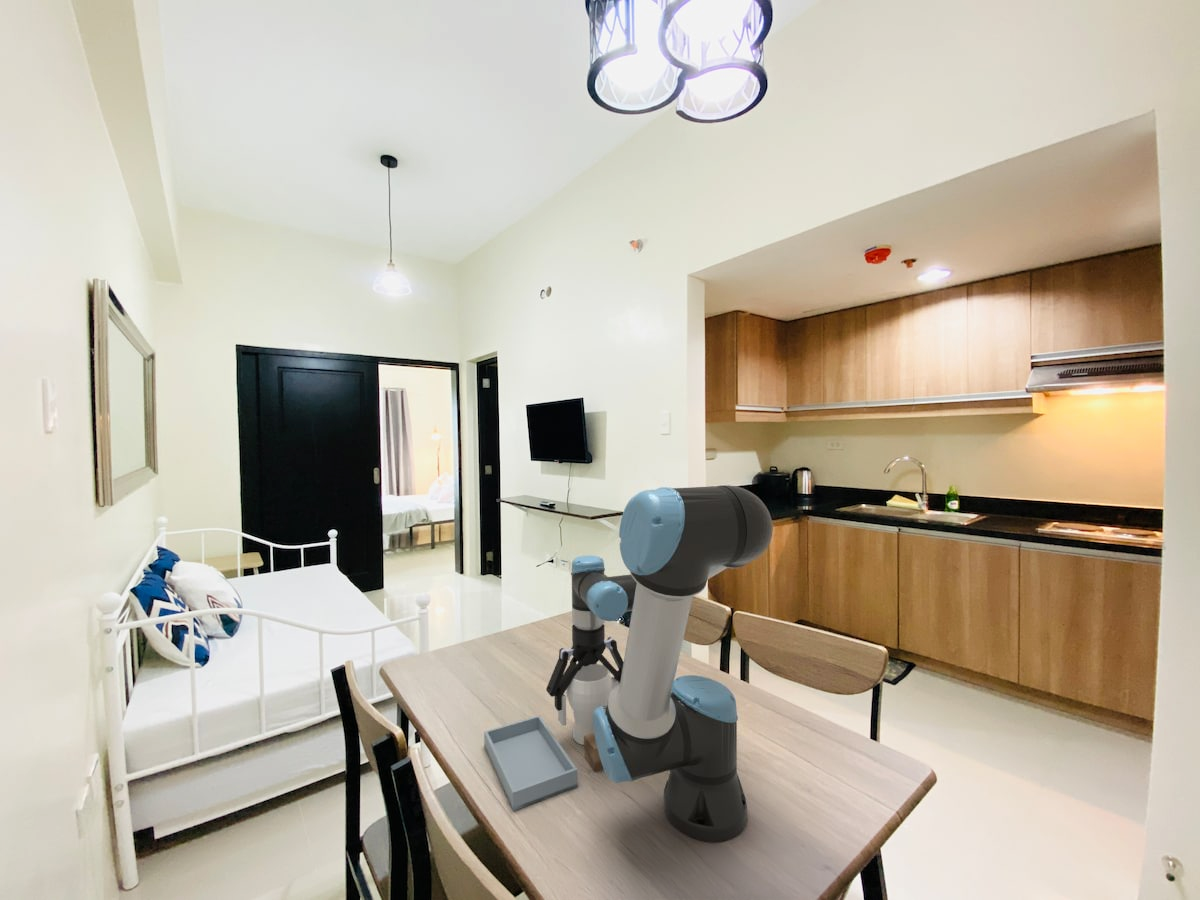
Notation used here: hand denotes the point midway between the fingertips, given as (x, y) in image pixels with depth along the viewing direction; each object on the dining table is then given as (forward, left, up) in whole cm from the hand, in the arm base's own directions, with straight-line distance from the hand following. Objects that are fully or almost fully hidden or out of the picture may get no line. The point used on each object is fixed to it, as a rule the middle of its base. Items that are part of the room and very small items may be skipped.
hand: (589, 714), depth 112 cm
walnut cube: (-9, +2, -5) cm, 11 cm away
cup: (0, 0, -5) cm, 5 cm away
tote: (-3, +16, -5) cm, 17 cm away
